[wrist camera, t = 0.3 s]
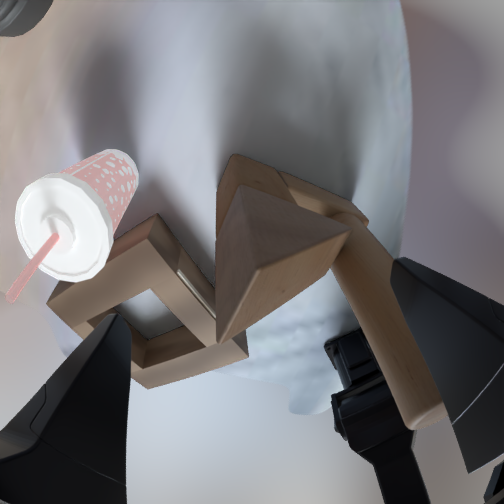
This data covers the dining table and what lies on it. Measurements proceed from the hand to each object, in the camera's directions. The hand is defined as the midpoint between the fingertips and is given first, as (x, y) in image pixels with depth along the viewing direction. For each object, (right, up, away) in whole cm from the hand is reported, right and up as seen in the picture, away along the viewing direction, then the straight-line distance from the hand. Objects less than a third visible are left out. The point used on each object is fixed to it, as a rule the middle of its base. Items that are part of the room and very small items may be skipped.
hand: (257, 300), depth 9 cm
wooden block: (+3, +6, +14) cm, 15 cm away
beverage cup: (-11, +7, +11) cm, 17 cm away
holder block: (-10, -4, +18) cm, 21 cm away
